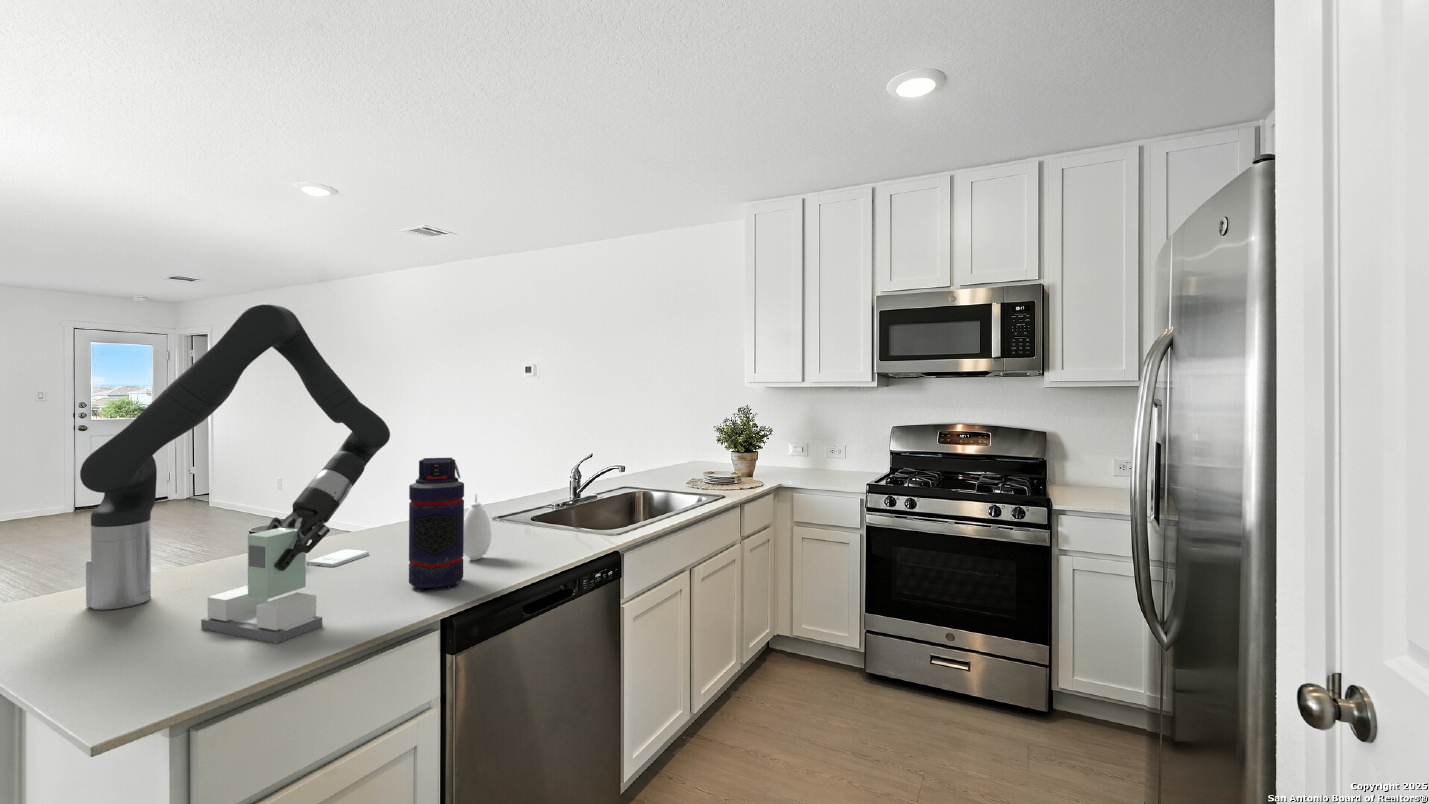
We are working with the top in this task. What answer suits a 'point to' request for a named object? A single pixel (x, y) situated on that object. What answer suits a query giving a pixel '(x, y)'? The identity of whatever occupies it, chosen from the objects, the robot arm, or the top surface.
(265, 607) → the board
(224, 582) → the top surface
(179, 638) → the top surface
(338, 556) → the external hard drive
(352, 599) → the top surface
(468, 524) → the air blower bulb
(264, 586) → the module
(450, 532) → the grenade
